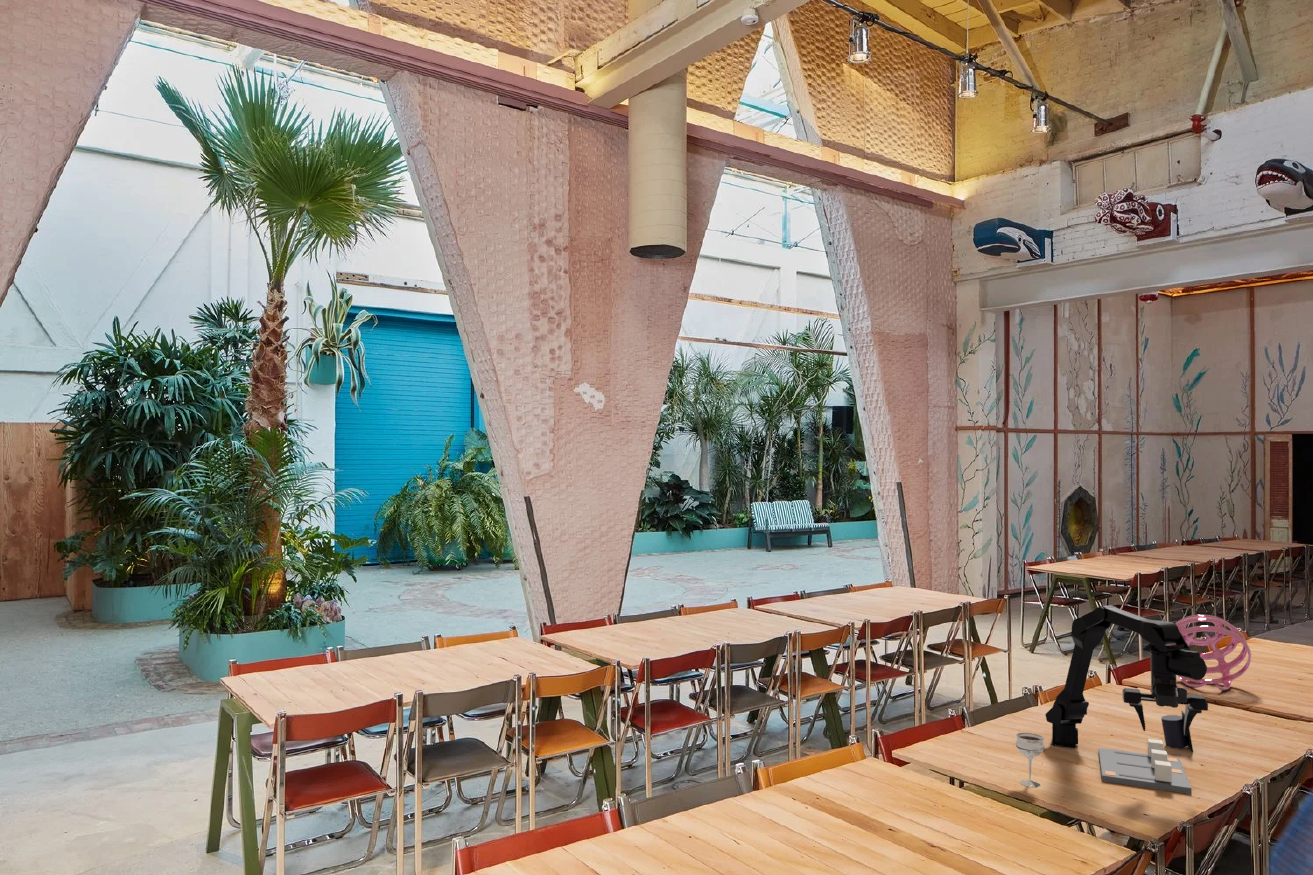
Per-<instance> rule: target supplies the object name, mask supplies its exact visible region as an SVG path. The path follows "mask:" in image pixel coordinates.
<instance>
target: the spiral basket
mask: <svg viewBox="0 0 1313 875" xmlns="http://www.w3.org/2000/svg"><path fill="white" fill-rule="evenodd" d="M1199 622H1209V623H1212V624H1214V625H1215V626H1213V625H1196V626H1189V627H1187V626H1188V624H1191V623H1199ZM1175 624H1176V625H1177V626H1178V629H1179V631H1180V633H1181V634H1182V636H1183V638H1184V640H1185V641H1186V643H1187V645H1188V646H1190V645H1193V646H1200V647H1205V646H1207V647H1208V646H1210V647H1211V648H1212V651H1211V652H1206V653H1205V652H1204V653H1203V652H1199V653H1200V657H1201V658H1202V659H1203V660H1204V661H1213V660H1215V661H1217V663H1218V664H1217V665H1216V666H1207V671H1206V674H1217V673H1219V674H1221V677H1218V678H1202V679H1200V680H1195V679H1191V678H1187V677H1183V676H1179V675H1176V677H1178V678H1179V680H1180V681H1181V682H1182V683H1183V684H1184V685H1185V686H1187V687H1190V688H1193V689H1198V688H1202V687H1205V686H1206V685H1215V686H1216V688H1218V690H1220V691H1222V692H1224V691H1227V690H1229V689H1230V687H1231V685H1232V682H1233V681H1234V680H1235V679H1237V678H1239V677H1241V676H1242V675H1243V674H1244V673H1245V672H1247V670H1248V669H1249V668H1250V665H1251V662H1252V652H1251V649H1250V647H1249V644H1248V642H1247V640H1246V637H1245V636H1244V634H1243V633H1242V632H1241V631H1240V630H1239V629H1238V628H1237V627H1236V626H1235V625H1233V624H1231V623H1230V622H1228V621H1227V620H1225V619H1223V618H1222V617H1219V616H1215V615H1210V614H1194V615H1193V614H1192V615H1189V616H1185V617H1182V618H1181V619H1179V620H1178V621H1176V622H1175ZM1224 626H1226V627H1228V628H1229V629H1230V630H1229V629H1226V628H1225V627H1224ZM1200 632H1204V634H1205V637H1206V638H1204V639H1203V638H1201V639H1200V638H1196V637H1195V635H1196V634H1197V633H1200ZM1207 632H1211V633H1215V634H1214V635H1213V636H1210V635H1209V634H1208V633H1207ZM1189 634H1190V635H1189ZM1225 636H1228V637H1231V640H1230V641H1229V643H1228V644H1227V645H1226V646H1225V647H1223V648H1222V649H1220V648H1218V646H1217V643H1220V641H1221V640H1223V638H1224V637H1225ZM1239 643H1240V644H1242V649H1241V651H1240V653H1239V655H1237V656H1236V657H1235V658H1234V659H1232V660H1231V661H1229V662H1226V660H1225V657H1226V656H1227V655H1230V654H1231V653H1232V652H1234V650H1235V649H1236V647H1237V646H1238V644H1239ZM1174 645H1176V644H1174ZM1246 657H1247V661H1246V663H1245V664H1244V665H1243V666H1242V668H1241V669H1239V670H1238V671H1237V672H1234V673H1231V672H1230V671H1231V670H1232V669H1234V668H1235V667H1237V666H1239V665H1240V664H1241V663H1242V662H1243V661H1244V660H1245V658H1246ZM1189 682H1192V683H1196V684H1191V683H1189ZM1219 684H1220V685H1221V684H1223V686H1220V685H1219Z"/></svg>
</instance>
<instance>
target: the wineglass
mask: <svg viewBox="0 0 1313 875" xmlns="http://www.w3.org/2000/svg"><path fill="white" fill-rule="evenodd" d="M1015 735H1016V740H1015V745H1016V746H1015V747H1016V749H1017V751H1019V753H1020V754H1022V755H1023V756H1024V757H1026V759H1027V761H1028V762H1027V763H1028V779H1023V780H1020V781H1019V784H1020V785H1022V786H1024V787H1028V788H1039V787H1041V784H1040V782H1037V781H1034V780H1032V761H1033V760H1034V758H1036V757H1039V756H1040V755H1041V754H1043V752H1044V751H1045V750H1044V749H1045V744H1044V741H1045V738H1044V736H1042V735H1040V734H1037V733H1032V732H1018V733H1016V734H1015Z"/></svg>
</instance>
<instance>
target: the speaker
mask: <svg viewBox="0 0 1313 875" xmlns="http://www.w3.org/2000/svg"><path fill="white" fill-rule="evenodd" d="M1160 719H1161V725H1162V731H1163V736H1164V742H1165V746H1166V747H1169V748H1171V749H1183V748H1188V749H1189V751H1191V753H1193V752H1194V749H1193V743H1192V737H1191V730H1190V729H1189V730H1188V733H1187V735H1184V719H1185V711H1183V710H1181V715H1177V714H1166V715H1162V716H1161V718H1160Z"/></svg>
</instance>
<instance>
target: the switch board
mask: <svg viewBox="0 0 1313 875" xmlns="http://www.w3.org/2000/svg"><path fill="white" fill-rule="evenodd" d="M1098 758H1099V766H1100V774H1101V782H1104V783H1105V782H1106V783H1110V784H1111V783H1112V784H1118V785H1119V784H1120V785H1126V786H1133V787H1140V788H1145V789H1155V790H1161V791H1167V792H1176V793H1181V794H1186V795H1187V794H1188V795H1192V790H1193V789H1192V786H1191V784H1190V781H1189V778H1188V776H1187V774H1186V773H1187V772H1186V770H1185V769H1184V766H1183V764H1182V763H1183V762H1182V760H1181V759H1180V758H1179V757H1173V756H1172V757H1171V756H1167V762H1170V763H1171V766H1172V782H1166V781H1159V780H1156V779H1155V768H1152V765H1151V757H1149V756H1148V753H1143V752H1134V751H1128V750H1119V749H1113V748H1112V749H1111V748H1106V747H1105V748H1104V747H1098Z"/></svg>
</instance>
